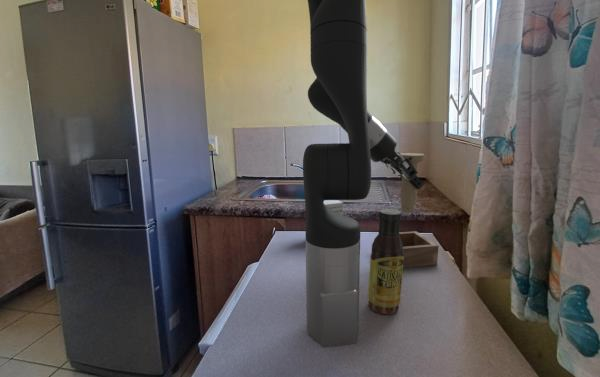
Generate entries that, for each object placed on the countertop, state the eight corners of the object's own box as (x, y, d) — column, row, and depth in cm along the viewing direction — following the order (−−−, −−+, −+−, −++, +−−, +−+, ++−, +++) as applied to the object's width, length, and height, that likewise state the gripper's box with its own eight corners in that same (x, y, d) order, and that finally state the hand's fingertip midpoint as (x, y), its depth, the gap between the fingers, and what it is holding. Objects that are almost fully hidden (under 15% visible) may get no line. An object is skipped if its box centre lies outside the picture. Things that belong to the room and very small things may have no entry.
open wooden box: (437, 264, 88) (438, 245, 87) (395, 268, 86) (395, 249, 85) (415, 247, 99) (416, 231, 98) (377, 250, 97) (378, 234, 96)
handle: (420, 215, 86) (424, 155, 83) (394, 213, 89) (396, 155, 85) (420, 210, 91) (424, 153, 88) (395, 208, 93) (398, 152, 90)
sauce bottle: (375, 318, 65) (378, 217, 61) (362, 301, 71) (365, 208, 67) (407, 313, 66) (412, 214, 62) (392, 297, 72) (396, 206, 68)
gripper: (396, 128, 77) (442, 179, 82) (373, 126, 91) (413, 170, 95) (373, 153, 77) (420, 202, 82) (353, 147, 91) (394, 190, 95)
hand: (416, 185), depth 88 cm, fingers closed on handle, 3 cm apart
